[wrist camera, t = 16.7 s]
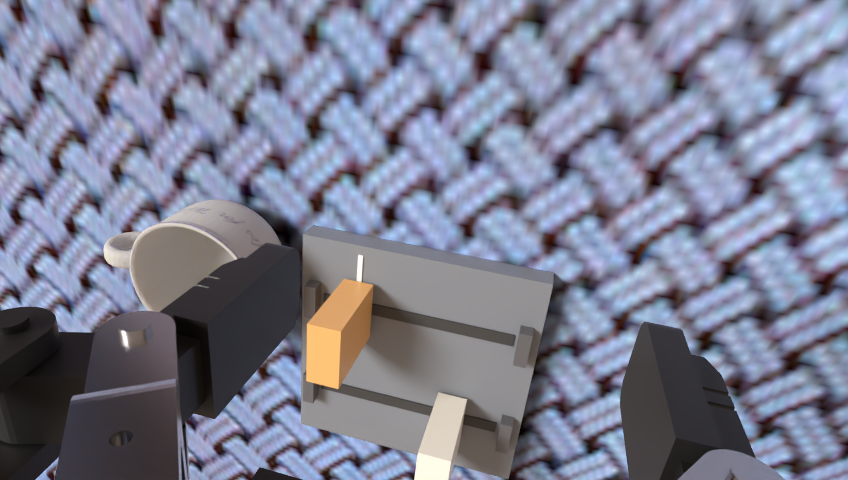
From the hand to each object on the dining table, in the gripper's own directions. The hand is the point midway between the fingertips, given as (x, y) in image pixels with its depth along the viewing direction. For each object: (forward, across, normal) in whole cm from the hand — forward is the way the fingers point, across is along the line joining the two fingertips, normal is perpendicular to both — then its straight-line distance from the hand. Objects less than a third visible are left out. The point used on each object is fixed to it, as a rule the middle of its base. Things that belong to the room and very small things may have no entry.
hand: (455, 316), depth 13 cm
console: (+28, +6, +22) cm, 36 cm away
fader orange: (+26, +11, +17) cm, 33 cm away
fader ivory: (+26, +2, +26) cm, 37 cm away
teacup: (+28, +24, +15) cm, 40 cm away
